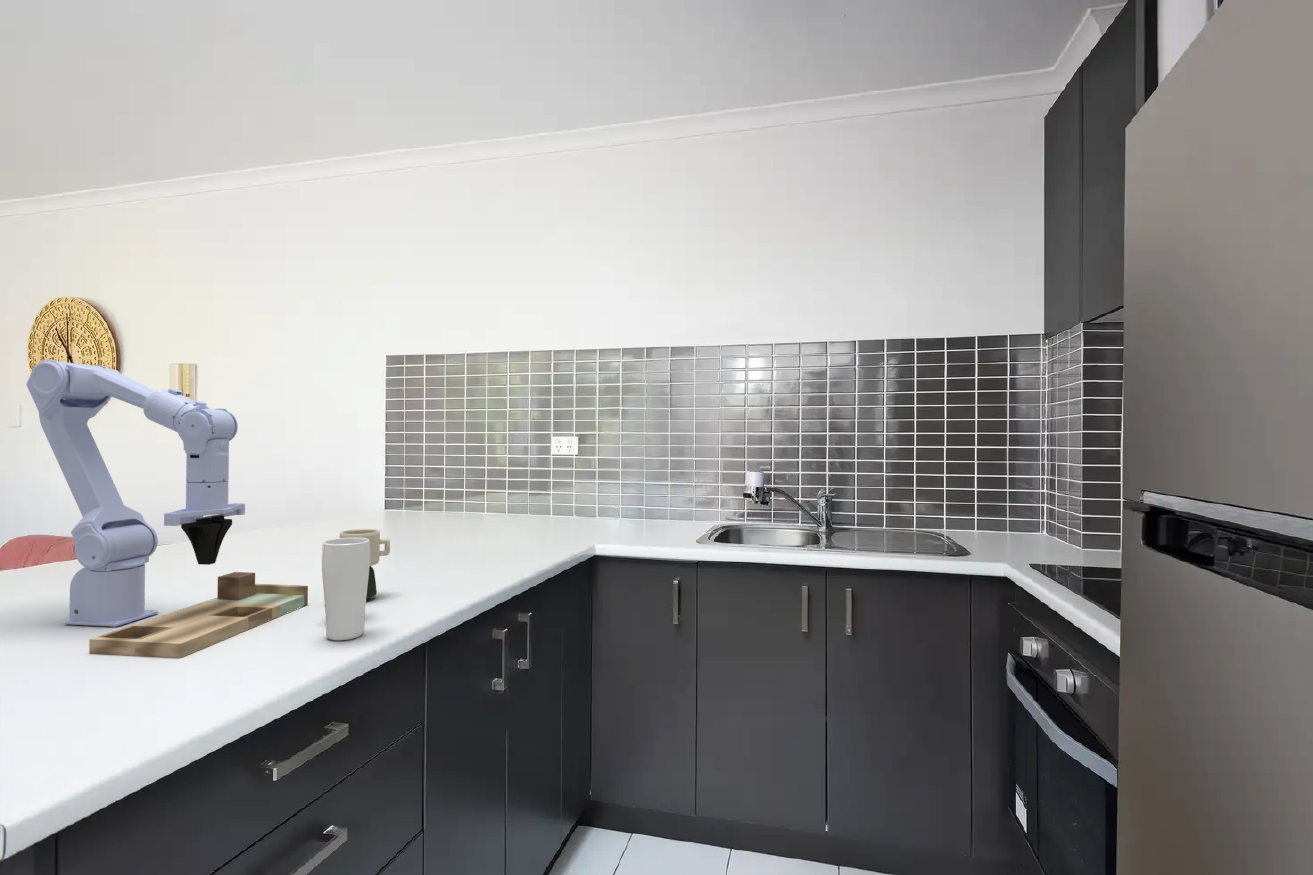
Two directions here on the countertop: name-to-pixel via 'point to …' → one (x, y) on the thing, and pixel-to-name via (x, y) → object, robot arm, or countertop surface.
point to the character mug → (374, 552)
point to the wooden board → (201, 624)
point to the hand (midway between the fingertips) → (206, 563)
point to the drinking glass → (345, 586)
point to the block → (236, 586)
